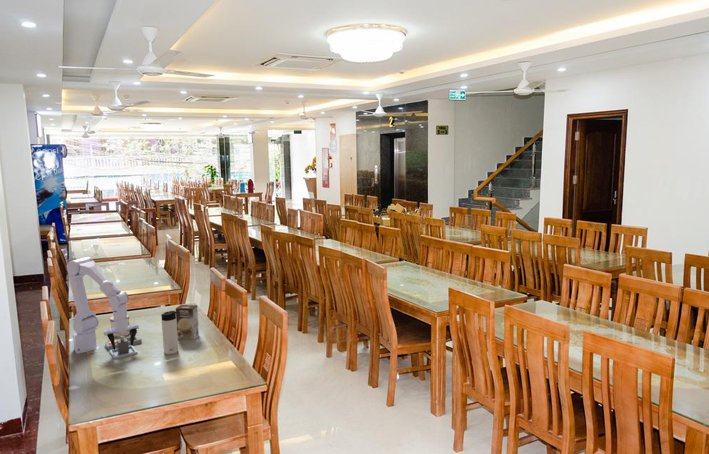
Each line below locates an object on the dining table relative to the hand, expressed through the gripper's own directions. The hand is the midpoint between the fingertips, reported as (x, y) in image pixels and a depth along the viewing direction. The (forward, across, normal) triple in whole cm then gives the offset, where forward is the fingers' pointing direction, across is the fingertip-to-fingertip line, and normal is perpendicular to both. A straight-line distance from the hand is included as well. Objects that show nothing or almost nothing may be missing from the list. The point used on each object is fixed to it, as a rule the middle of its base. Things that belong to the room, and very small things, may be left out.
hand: (123, 346), depth 232 cm
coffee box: (+4, +31, +3) cm, 31 cm away
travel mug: (+4, +18, -13) cm, 22 cm away
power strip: (+3, +2, +12) cm, 12 cm away
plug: (+3, 0, 0) cm, 3 cm away
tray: (+3, 0, 0) cm, 4 cm away
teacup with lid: (+4, +5, +31) cm, 32 cm away
